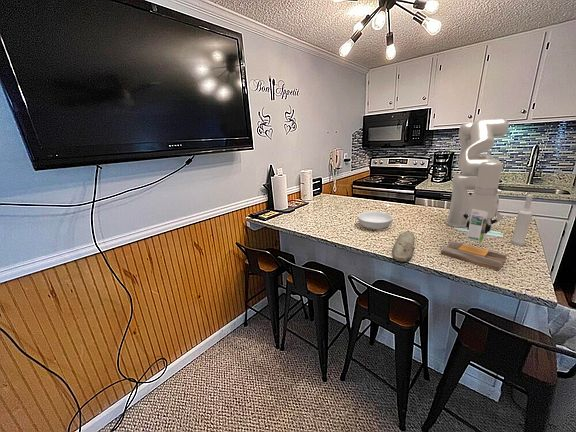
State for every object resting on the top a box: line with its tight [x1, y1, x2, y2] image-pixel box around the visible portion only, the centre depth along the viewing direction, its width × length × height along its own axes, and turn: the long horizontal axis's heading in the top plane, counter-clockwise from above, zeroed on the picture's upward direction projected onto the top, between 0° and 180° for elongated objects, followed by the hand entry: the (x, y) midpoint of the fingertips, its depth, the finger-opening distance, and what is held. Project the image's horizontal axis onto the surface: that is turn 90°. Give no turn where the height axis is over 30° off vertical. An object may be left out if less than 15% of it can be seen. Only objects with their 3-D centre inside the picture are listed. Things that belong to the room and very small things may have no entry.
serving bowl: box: [357, 210, 394, 230], centre depth 156 cm, size 21×21×7 cm
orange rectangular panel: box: [458, 243, 490, 257], centre depth 113 cm, size 7×10×1 cm
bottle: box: [510, 194, 534, 246], centre depth 120 cm, size 5×5×25 cm
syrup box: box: [466, 209, 488, 243], centre depth 109 cm, size 6×6×14 cm
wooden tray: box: [440, 240, 508, 272], centre depth 114 cm, size 12×22×4 cm, turn 40°
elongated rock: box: [392, 231, 416, 262], centre depth 127 cm, size 35×5×10 cm
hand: (477, 230), depth 110 cm, fingers closed on syrup box, 5 cm apart
